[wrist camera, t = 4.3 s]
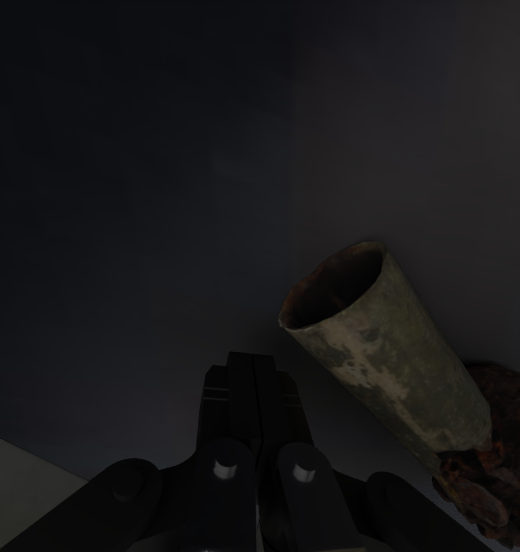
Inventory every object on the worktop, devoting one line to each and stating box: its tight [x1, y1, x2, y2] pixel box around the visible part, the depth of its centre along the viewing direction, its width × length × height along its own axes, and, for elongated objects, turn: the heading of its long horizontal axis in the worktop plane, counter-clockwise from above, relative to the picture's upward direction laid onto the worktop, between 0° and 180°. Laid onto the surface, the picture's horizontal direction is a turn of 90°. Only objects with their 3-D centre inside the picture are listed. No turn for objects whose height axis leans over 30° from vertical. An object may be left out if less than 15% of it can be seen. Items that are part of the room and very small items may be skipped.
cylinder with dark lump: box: [278, 241, 520, 550], centre depth 14 cm, size 18×7×6 cm, turn 40°
